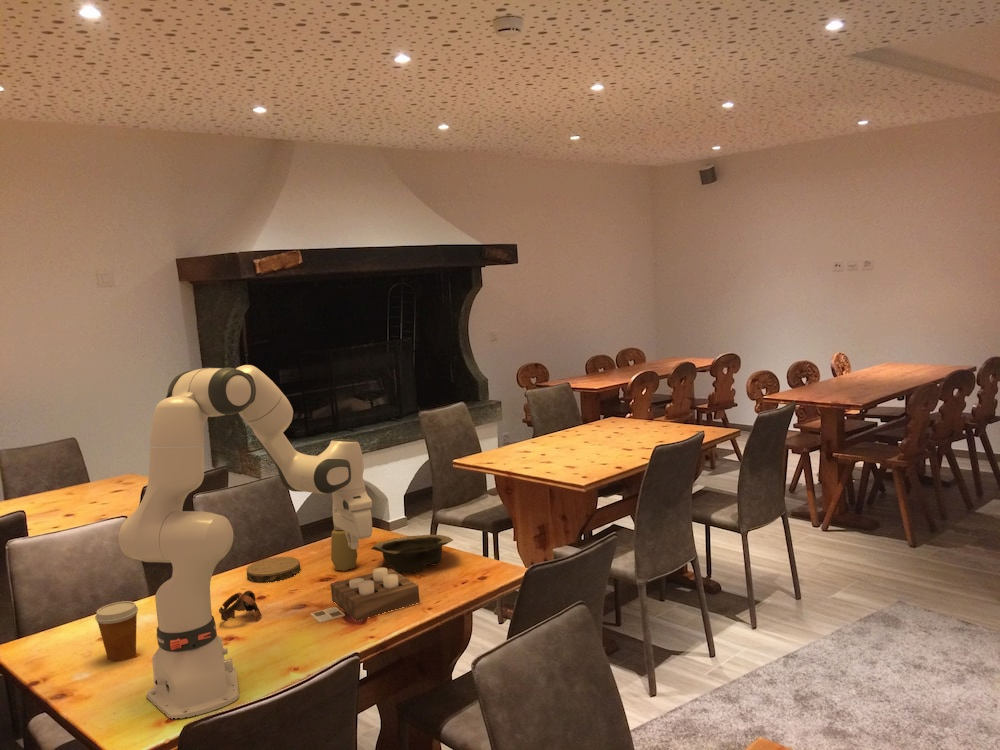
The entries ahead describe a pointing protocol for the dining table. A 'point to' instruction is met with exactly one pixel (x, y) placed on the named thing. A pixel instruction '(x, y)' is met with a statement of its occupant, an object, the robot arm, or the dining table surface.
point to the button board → (374, 597)
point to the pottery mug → (240, 605)
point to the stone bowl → (412, 551)
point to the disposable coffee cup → (118, 629)
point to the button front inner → (366, 587)
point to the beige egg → (379, 574)
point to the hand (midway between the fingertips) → (353, 547)
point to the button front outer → (390, 581)
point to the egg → (355, 582)
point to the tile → (327, 614)
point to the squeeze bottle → (342, 550)
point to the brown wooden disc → (273, 569)
